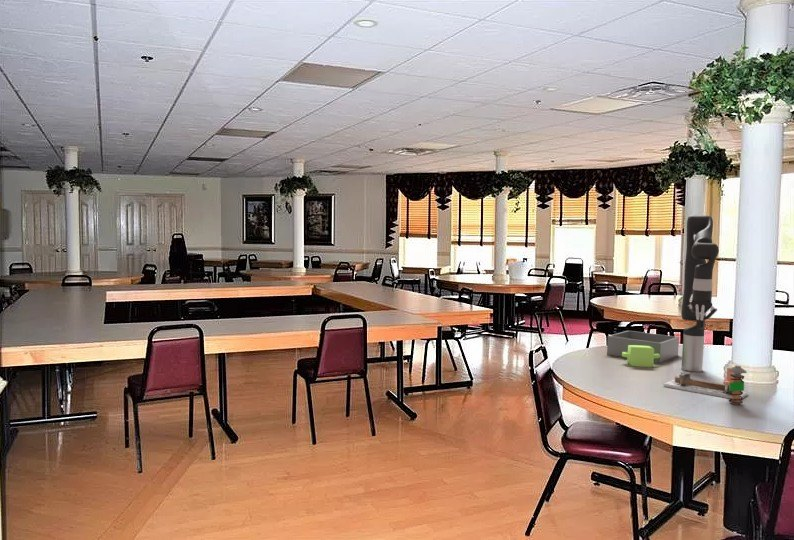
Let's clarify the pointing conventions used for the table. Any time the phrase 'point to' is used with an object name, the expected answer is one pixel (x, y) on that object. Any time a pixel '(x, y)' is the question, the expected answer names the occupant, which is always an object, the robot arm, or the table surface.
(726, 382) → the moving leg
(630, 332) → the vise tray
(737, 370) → the shock absorber
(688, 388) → the hole plate
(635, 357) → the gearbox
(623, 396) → the table surface
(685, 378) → the beam
